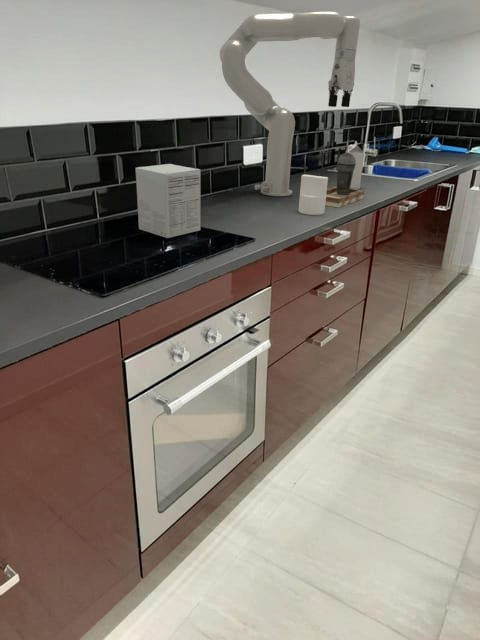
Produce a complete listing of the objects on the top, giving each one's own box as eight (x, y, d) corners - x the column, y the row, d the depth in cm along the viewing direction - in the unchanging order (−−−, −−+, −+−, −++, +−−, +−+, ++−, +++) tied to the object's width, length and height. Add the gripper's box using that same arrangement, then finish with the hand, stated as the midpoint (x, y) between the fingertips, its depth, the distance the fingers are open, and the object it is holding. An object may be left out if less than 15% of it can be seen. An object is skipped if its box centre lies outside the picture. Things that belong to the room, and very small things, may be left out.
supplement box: (201, 230, 145) (202, 169, 137) (167, 239, 136) (165, 173, 128) (172, 221, 152) (170, 163, 145) (137, 229, 143) (134, 167, 136)
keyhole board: (338, 207, 179) (339, 198, 177) (307, 202, 185) (308, 193, 184) (363, 198, 195) (364, 190, 193) (333, 193, 202) (334, 185, 200)
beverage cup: (338, 196, 190) (344, 141, 181) (330, 192, 196) (336, 139, 187) (355, 195, 191) (362, 141, 183) (346, 192, 198) (353, 139, 189)
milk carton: (357, 186, 219) (363, 141, 211) (359, 189, 212) (365, 143, 204) (341, 185, 219) (347, 140, 211) (342, 188, 213) (348, 142, 205)
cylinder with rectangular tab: (328, 211, 173) (332, 176, 167) (318, 216, 166) (322, 179, 160) (304, 207, 177) (307, 173, 172) (294, 212, 170) (297, 176, 164)
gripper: (342, 54, 172) (335, 107, 179) (365, 57, 184) (358, 107, 191) (324, 53, 176) (318, 105, 183) (347, 57, 188) (341, 106, 195)
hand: (338, 106), depth 187 cm, fingers open, 9 cm apart
